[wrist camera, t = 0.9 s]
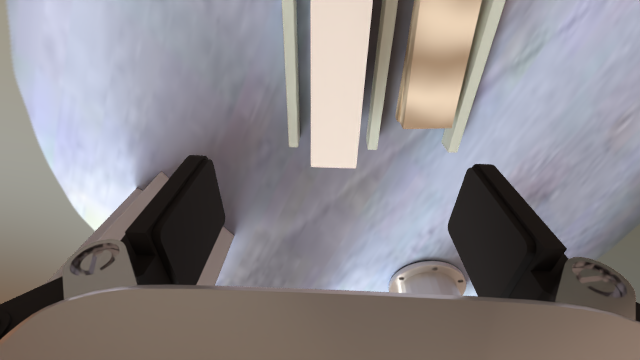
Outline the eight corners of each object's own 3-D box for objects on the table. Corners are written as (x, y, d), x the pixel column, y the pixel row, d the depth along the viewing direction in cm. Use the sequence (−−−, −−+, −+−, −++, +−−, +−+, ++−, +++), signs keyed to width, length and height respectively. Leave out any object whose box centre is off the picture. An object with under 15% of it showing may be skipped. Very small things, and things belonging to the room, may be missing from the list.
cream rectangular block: (350, 123, 34) (355, 168, 26) (316, 122, 34) (311, 166, 26) (362, -23, 26) (375, -25, 18) (318, -23, 26) (310, -26, 18)
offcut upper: (445, 120, 32) (451, 128, 30) (399, 121, 32) (403, 128, 31) (474, -10, 25) (484, -10, 24) (415, -8, 25) (421, -7, 24)
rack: (449, 142, 35) (456, 152, 33) (291, 137, 35) (289, 147, 33) (506, -49, 25) (522, -52, 23) (283, -52, 25) (278, -55, 23)
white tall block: (135, 188, 41) (-173, 509, 16) (160, 171, 39) (-145, 502, 14) (209, 248, 47) (71, 544, 22) (234, 236, 45) (113, 543, 20)
